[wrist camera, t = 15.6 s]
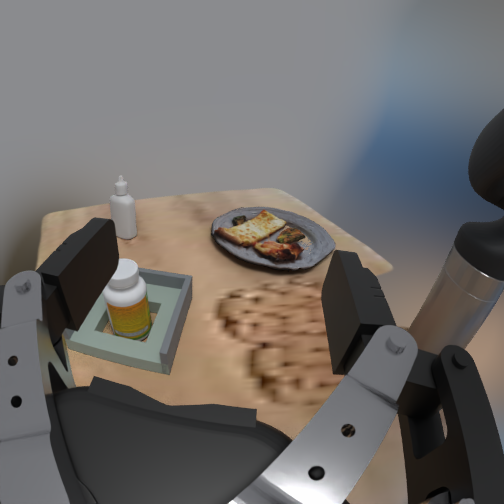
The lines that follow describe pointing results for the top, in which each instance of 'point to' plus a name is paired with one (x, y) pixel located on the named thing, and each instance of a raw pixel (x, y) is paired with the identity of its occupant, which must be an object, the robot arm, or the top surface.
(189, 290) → the box
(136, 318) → the supplement bottle
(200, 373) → the top surface
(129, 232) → the eye dropper bottle
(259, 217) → the food plate
